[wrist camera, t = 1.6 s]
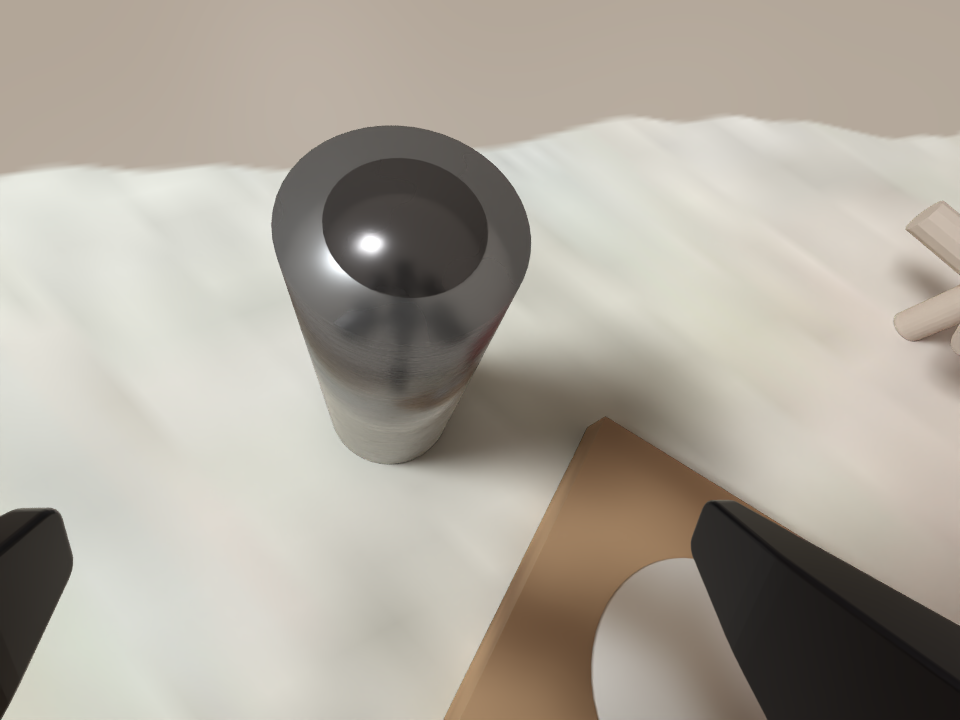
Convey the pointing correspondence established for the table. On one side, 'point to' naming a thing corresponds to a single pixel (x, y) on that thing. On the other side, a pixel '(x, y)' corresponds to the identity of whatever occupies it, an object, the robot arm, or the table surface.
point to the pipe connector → (956, 246)
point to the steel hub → (397, 277)
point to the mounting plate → (611, 602)
